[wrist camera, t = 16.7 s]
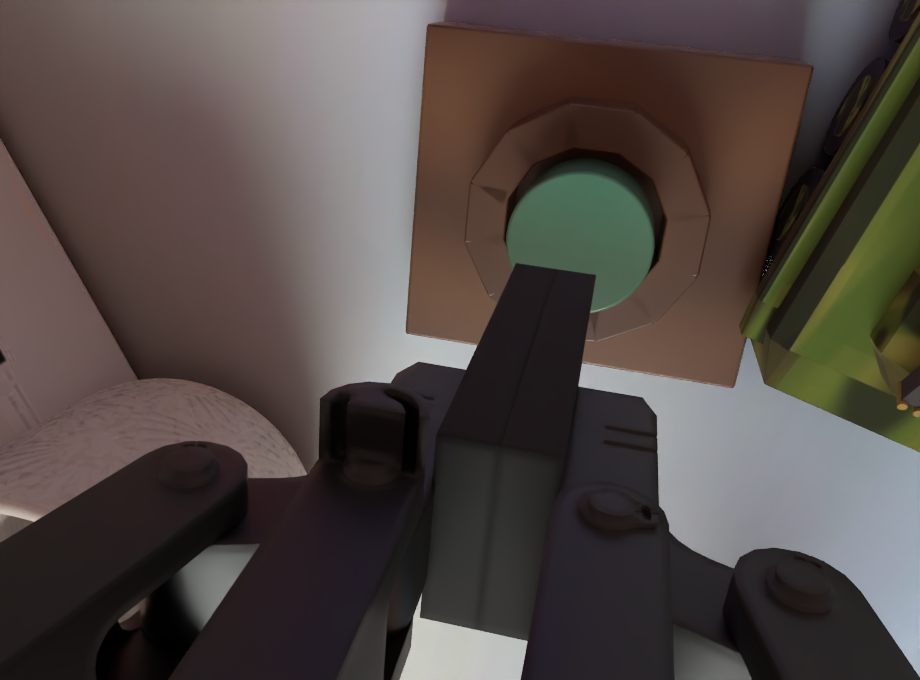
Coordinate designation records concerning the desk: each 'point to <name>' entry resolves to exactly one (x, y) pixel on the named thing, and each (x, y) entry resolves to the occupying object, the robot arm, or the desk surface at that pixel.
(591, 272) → the flush button
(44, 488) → the planter
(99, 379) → the radio
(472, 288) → the button panel
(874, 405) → the toy vehicle
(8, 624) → the robot arm
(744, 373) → the desk surface
